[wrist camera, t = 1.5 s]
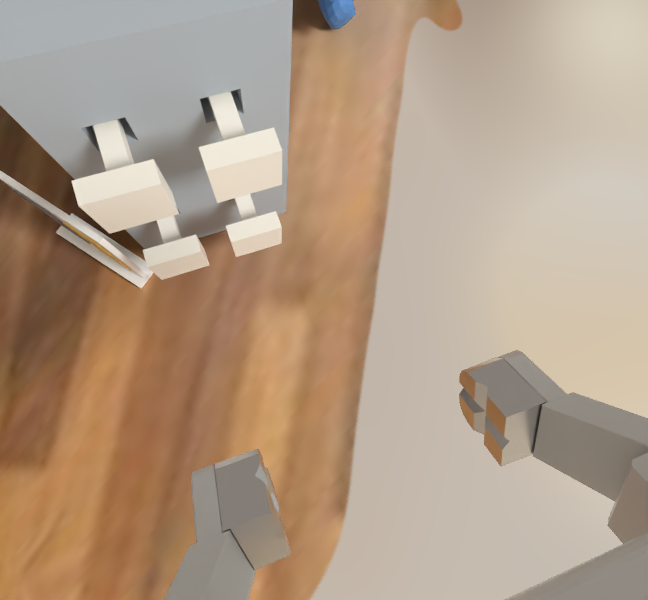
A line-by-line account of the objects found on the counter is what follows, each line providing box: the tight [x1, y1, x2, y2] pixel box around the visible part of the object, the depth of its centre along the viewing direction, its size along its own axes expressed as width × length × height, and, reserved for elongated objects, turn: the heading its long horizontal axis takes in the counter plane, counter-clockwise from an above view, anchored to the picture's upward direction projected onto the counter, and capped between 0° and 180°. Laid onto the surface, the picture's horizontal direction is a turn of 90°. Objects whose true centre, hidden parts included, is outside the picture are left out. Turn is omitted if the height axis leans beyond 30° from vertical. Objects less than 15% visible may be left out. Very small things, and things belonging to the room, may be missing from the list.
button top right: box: [199, 91, 282, 203], centre depth 22 cm, size 4×6×4 cm, turn 20°
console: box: [0, 0, 293, 249], centre depth 28 cm, size 12×8×22 cm, turn 109°
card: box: [0, 171, 154, 289], centre depth 32 cm, size 8×2×10 cm, turn 57°
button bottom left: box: [143, 215, 209, 280], centre depth 31 cm, size 4×6×4 cm, turn 19°
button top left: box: [72, 118, 179, 234], centre depth 21 cm, size 4×6×4 cm, turn 20°
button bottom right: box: [226, 194, 282, 257], centre depth 32 cm, size 4×6×4 cm, turn 19°
